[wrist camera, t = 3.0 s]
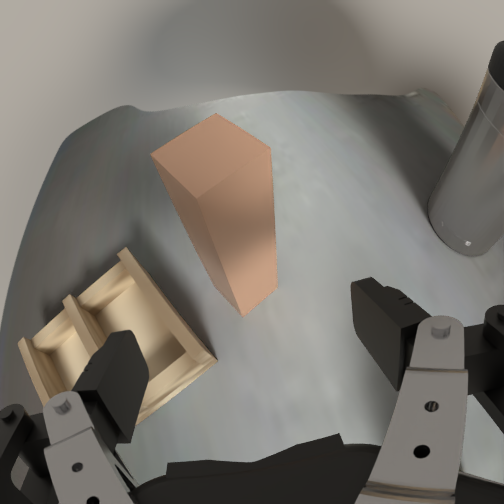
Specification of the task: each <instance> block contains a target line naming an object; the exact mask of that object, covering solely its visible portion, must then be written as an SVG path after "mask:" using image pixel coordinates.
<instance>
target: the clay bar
mask: <svg viewBox="0 0 504 504" xmlns="http://www.w3.org/2000/svg"><path fill="white" fill-rule="evenodd" d="M150 155H151V157H152V159H153V162H154V164H155V166H156V168H157V170H158V172H159V175H160V177H161V179H162V181H163V183H164V185H165V188H166V190H167V192H168V194H169V196H170V198H171V200H172V202H173V205H174V207H175V209H176V211H177V213H178V215H179V217H180V219H181V221H182V223H183V225H184V227H185V229H186V231H187V233H188V235H189V238H190V240H191V242H192V244H193V246H194V248H195V250H196V252H197V254H198V256H199V258H200V260H201V262H202V264H203V265H204V267H205V269H206V271H207V273H208V275H209V277H210V279H211V281H212V283H213V285H214V286H215V287H216V289H217V290H218V291H219V292H220V293H221V294H222V295H223V296H224V297H225V298H226V300H227V301H228V302H229V303H230V304H231V305H232V306H233V307H234V308H235V309H236V310H237V312H238V313H239V314H240V315H241V316H242V317H244V316H245V315H246V314H248V313H249V312H250V311H251V310H252V309H253V308H255V307H256V306H257V305H258V304H259V303H260V302H261V301H263V300H264V299H265V298H266V297H267V296H268V295H270V294H271V293H272V292H273V291H274V290H275V289H276V288H278V281H277V257H276V235H275V215H274V197H273V179H272V162H271V148H270V147H269V146H267V145H266V144H264V143H263V142H261V141H260V140H258V139H257V138H255V137H254V136H252V135H250V134H249V133H247V132H246V131H244V130H243V129H241V128H240V127H238V126H236V125H235V124H233V123H232V122H230V121H228V120H227V119H225V118H223V117H222V116H220V115H219V114H217V113H216V114H214V115H212V116H210V117H209V118H207V119H205V120H203V121H202V122H200V123H198V124H197V125H195V126H193V127H192V128H190V129H188V130H187V131H185V132H184V133H182V134H180V135H179V136H177V137H176V138H174V139H172V140H171V141H169V142H168V143H166V144H165V145H163V146H162V147H160V148H159V149H157V150H156V151H154V152H153V153H151V154H150Z"/></svg>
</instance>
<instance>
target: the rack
mask: <svg viewBox="0 0 504 504" xmlns="http://www.w3.org/2000/svg"><path fill="white" fill-rule="evenodd" d="M117 255H118V257H119V258H120V260H121V261H120V262H118V263H117V264H116V265H115V266H114V267H112V268H111V269H110V270H109V271H108V272H106V273H105V274H104V275H103V276H102V277H100V278H99V279H98V280H97V281H96V282H95V283H93V284H92V285H91V286H90V287H89V288H88V289H86V290H85V291H84V292H83V293H82V294H81V295H79V296H78V297H77V298H75V297H73V296H72V295H68V296H67V297H66V298H65V299H64V300H63V301H62V302H63V304H64V307H65V309H64V310H63V311H61V312H60V313H59V314H58V315H57V316H56V317H55V318H54V319H53V320H52V321H50V322H49V323H48V324H47V325H46V326H45V327H44V328H43V329H42V330H41V331H40V332H39V333H38V334H37V335H36V336H34V337H33V338H32V339H31V340H29V339H27V338H25V337H23V338H22V339H21V340H20V341H19V342H18V346H19V348H20V351H21V354H22V357H23V359H24V362H25V364H26V367H27V369H28V372H29V374H30V377H31V379H32V381H33V384H34V386H35V388H36V391H37V393H38V395H39V397H40V399H41V401H42V404H43V406H45V404H46V403H47V402H48V401H49V400H50V399H51V398H52V397H54V396H55V395H57V394H59V393H62V392H66V391H71V390H72V388H73V387H74V385H75V383H76V382H77V380H78V378H79V376H80V375H81V373H82V372H84V368H85V366H86V365H88V361H89V360H90V358H91V357H92V355H93V354H94V353H95V352H96V351H97V350H99V349H100V348H101V347H102V346H103V345H104V343H105V341H106V340H107V338H108V336H109V335H110V333H112V332H117V331H123V330H131V331H132V332H133V333H134V335H135V337H136V340H137V342H138V345H139V347H140V349H141V352H142V354H143V356H144V358H145V361H146V363H147V366H148V369H149V381H148V385H147V388H146V391H145V394H144V398H143V401H142V404H141V408H140V411H139V415H138V418H137V421H136V425H137V424H139V423H140V422H141V421H143V420H144V419H145V418H147V417H148V416H149V415H151V414H152V413H153V412H155V411H156V410H157V409H159V408H160V407H161V406H162V405H164V404H165V403H166V402H168V401H169V400H170V399H171V398H173V397H174V396H175V395H177V394H178V393H179V392H180V391H182V390H183V389H184V388H185V387H187V386H188V385H189V384H190V383H192V382H193V381H194V380H195V379H197V378H198V377H199V376H200V375H202V374H203V373H204V372H205V371H207V370H208V369H209V368H210V367H211V366H213V365H214V364H215V363H216V362H217V361H218V360H217V359H216V358H215V357H214V356H213V355H212V353H211V352H210V351H209V350H208V349H207V347H206V346H205V345H204V344H203V343H202V341H201V340H200V339H199V338H198V337H197V335H196V334H195V333H194V332H193V331H192V329H191V328H190V327H189V326H188V324H187V323H186V322H185V321H184V319H183V318H182V317H181V316H180V314H179V313H178V312H177V310H176V309H175V308H174V307H173V305H172V304H171V303H170V301H169V300H168V299H167V298H166V296H165V295H164V294H163V292H162V291H161V290H160V288H159V287H158V286H157V284H156V283H155V282H154V280H153V279H152V278H151V276H150V275H149V273H148V272H147V271H146V270H145V269H144V267H143V266H142V265H141V264H140V263H139V262H138V260H137V259H136V258H135V257H134V256H133V255H132V253H131V252H130V251H129V250H128V249H127V247H125V248H124V249H123V250H121V251H120V252H119V253H118V254H117ZM136 425H135V426H136Z"/></svg>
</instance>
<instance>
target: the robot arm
mask: <svg viewBox="0 0 504 504" xmlns="http://www.w3.org/2000/svg"><path fill="white" fill-rule="evenodd" d="M428 215H429V219H430V222H431V224H432V226H433V228H434V230H435V231H436V233H437V234H438V236H439V237H440V238H441V239H442V240H443V241H444V242H445V243H446V244H447V245H448V246H449V247H451V248H452V249H453V250H455V251H457V252H459V253H461V254H464V255H467V256H479V255H482V254H484V253H486V252H487V251H488V250H489V249H490V248H491V247H492V246H493V245H494V244H495V243H496V242H497V241H498V240H499V239H500V238H501V236H502V235H503V234H504V41H501V42H499V43H498V44H497V45H496V46H495V48H494V51H493V53H492V56H491V59H490V62H489V65H488V69H487V72H486V74H485V77H484V80H483V83H482V85H481V88H480V91H479V93H478V96H477V99H476V101H475V104H474V106H473V109H472V111H471V113H470V116H469V118H468V121H467V123H466V125H465V127H464V129H463V132H462V134H461V136H460V138H459V140H458V143H457V145H456V147H455V149H454V151H453V153H452V155H451V157H450V159H449V161H448V163H447V165H446V167H445V169H444V171H443V173H442V175H441V177H440V179H439V181H438V183H437V185H436V187H435V188H434V190H433V192H432V194H431V196H430V198H429V201H428ZM351 299H352V312H353V324H354V328H355V331H356V334H357V336H358V338H359V339H360V340H361V342H362V343H363V344H364V346H365V347H366V349H367V350H368V351H369V353H370V354H371V356H372V357H373V358H374V360H375V361H376V363H377V364H378V365H379V367H380V368H381V370H382V371H383V373H384V374H385V375H386V377H387V378H388V380H389V381H390V383H391V384H392V385H393V387H394V388H395V390H396V391H399V390H400V392H399V396H398V399H397V403H396V406H395V409H394V412H393V415H392V418H391V421H390V424H389V427H388V430H387V433H386V436H385V439H384V442H383V444H382V446H378V445H372V444H343V441H342V439H341V436H340V434H339V433H338V434H335V435H332V436H328V437H325V438H321V439H317V440H313V441H310V442H306V443H301V444H297V445H295V446H292V447H290V448H288V449H286V450H283V451H281V452H278V453H276V454H274V455H271V456H269V457H266V458H264V459H261V460H258V461H255V462H229V461H216V460H200V461H188V462H173V463H168V464H167V471H166V475H163V476H160V477H157V478H154V479H152V480H150V481H147V482H145V483H143V484H142V485H139V484H138V482H137V481H136V479H135V478H134V476H133V475H132V473H131V472H130V470H129V469H128V467H127V466H126V464H125V463H124V461H123V459H122V458H121V456H120V454H119V453H118V452H117V450H116V449H115V447H116V444H117V443H131V439H132V436H133V432H134V428H135V425H136V421H137V418H138V415H139V411H140V408H141V404H142V401H143V398H144V394H145V391H146V388H147V385H148V381H149V369H148V366H147V363H146V361H145V358H144V356H143V354H142V352H141V349H140V347H139V345H138V342H137V340H136V337H135V335H134V333H133V332H132V331H131V330H123V331H117V332H112V333H110V335H109V336H108V338H107V340H106V341H105V343H104V345H103V346H102V347H101V348H100V349H99V350H97V351H96V352H95V353H94V354H93V355H92V357H91V358H90V360H89V361H88V365H86V366H85V368H84V372H82V373H81V375H80V376H79V378H78V380H77V382H76V383H75V385H74V387H73V388H72V390H71V391H66V392H62V393H59V394H57V395H55V396H54V397H52V398H51V399H50V400H49V401H48V402H47V403H46V404H45V406H44V408H43V413H39V414H35V415H31V416H29V415H28V413H27V412H26V410H25V409H24V407H23V406H22V405H20V404H12V405H9V406H7V407H5V408H4V409H2V410H1V411H0V504H58V503H60V504H504V485H500V484H496V483H492V482H488V481H484V480H481V479H477V478H474V477H470V476H467V475H463V474H460V473H458V472H459V466H460V460H461V454H462V447H463V439H464V431H465V421H466V410H467V395H471V394H473V395H474V397H475V398H476V399H477V400H478V401H479V403H480V404H481V405H482V406H483V408H484V409H485V410H486V412H487V413H488V414H489V415H490V417H491V418H492V419H493V421H494V422H495V423H496V424H497V426H498V427H499V428H500V430H501V431H502V432H503V434H504V305H496V306H493V307H491V308H489V309H488V310H487V311H486V313H485V319H484V324H479V325H474V326H468V327H463V325H462V323H461V322H460V321H459V320H457V319H455V318H453V317H449V316H433V317H432V316H431V315H430V314H428V313H427V312H426V311H425V310H423V309H422V308H421V307H420V306H419V305H417V304H416V303H415V302H414V303H413V301H412V300H411V299H410V298H409V297H408V298H407V296H406V295H405V294H404V293H402V292H401V291H400V290H398V289H395V288H392V287H389V286H386V287H383V286H382V285H381V284H380V283H378V282H377V281H376V280H375V279H374V278H372V277H369V278H365V279H362V280H358V281H354V282H352V283H351ZM18 456H19V457H20V458H21V459H22V460H23V462H24V463H25V464H26V465H27V466H28V467H29V470H28V472H27V475H26V477H25V480H24V482H23V485H22V487H21V490H20V491H19V490H18V489H17V488H16V487H15V486H14V484H13V482H12V480H11V470H12V468H13V466H14V464H15V461H16V459H17V457H18Z"/></svg>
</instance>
